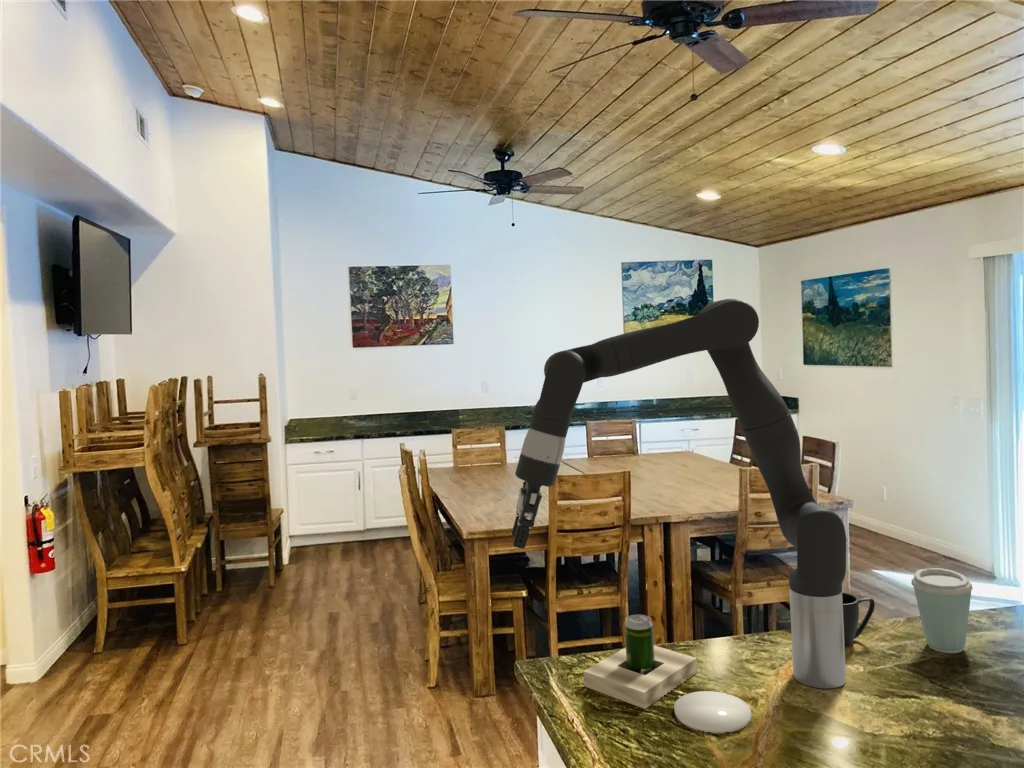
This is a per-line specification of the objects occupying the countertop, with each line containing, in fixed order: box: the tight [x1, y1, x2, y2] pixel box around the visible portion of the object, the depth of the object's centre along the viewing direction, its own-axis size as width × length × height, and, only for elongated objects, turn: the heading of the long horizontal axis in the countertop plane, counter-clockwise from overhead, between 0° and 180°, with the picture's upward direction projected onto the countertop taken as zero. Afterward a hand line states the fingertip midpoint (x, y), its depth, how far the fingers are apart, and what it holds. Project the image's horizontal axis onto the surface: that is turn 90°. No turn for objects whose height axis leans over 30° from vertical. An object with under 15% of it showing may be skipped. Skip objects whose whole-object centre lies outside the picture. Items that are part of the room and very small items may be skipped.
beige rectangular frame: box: [583, 645, 698, 710], centre depth 138 cm, size 18×14×3 cm
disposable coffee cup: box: [910, 567, 974, 654], centre depth 144 cm, size 11×11×15 cm
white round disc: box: [673, 690, 752, 734], centre depth 124 cm, size 13×13×1 cm
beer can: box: [624, 614, 655, 675], centre depth 138 cm, size 5×5×12 cm
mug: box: [842, 591, 876, 648], centre depth 150 cm, size 8×12×10 cm
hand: (517, 541), depth 130 cm, fingers open, 8 cm apart
